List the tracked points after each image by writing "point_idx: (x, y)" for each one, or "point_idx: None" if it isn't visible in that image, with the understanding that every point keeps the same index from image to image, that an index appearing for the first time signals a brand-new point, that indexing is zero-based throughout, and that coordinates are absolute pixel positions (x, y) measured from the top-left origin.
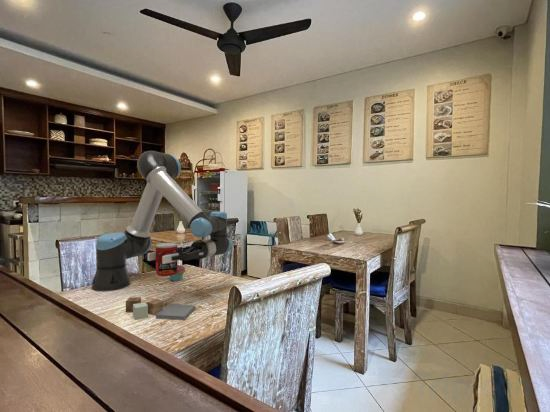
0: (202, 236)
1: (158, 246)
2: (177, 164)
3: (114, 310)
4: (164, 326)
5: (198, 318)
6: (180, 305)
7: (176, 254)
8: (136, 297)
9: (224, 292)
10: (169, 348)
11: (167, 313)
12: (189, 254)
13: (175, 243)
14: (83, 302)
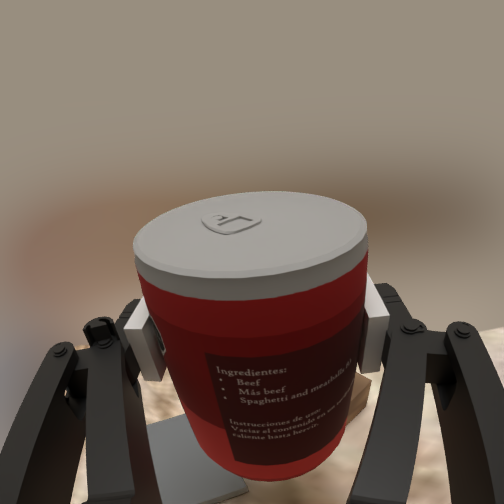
0: None
1: (244, 196)
2: None
3: (377, 373)
4: (146, 394)
5: (84, 461)
6: (189, 497)
7: (134, 318)
8: (352, 395)
9: None
10: (85, 347)
11: (178, 428)
12: (40, 382)
13: (211, 270)
14: (489, 336)
